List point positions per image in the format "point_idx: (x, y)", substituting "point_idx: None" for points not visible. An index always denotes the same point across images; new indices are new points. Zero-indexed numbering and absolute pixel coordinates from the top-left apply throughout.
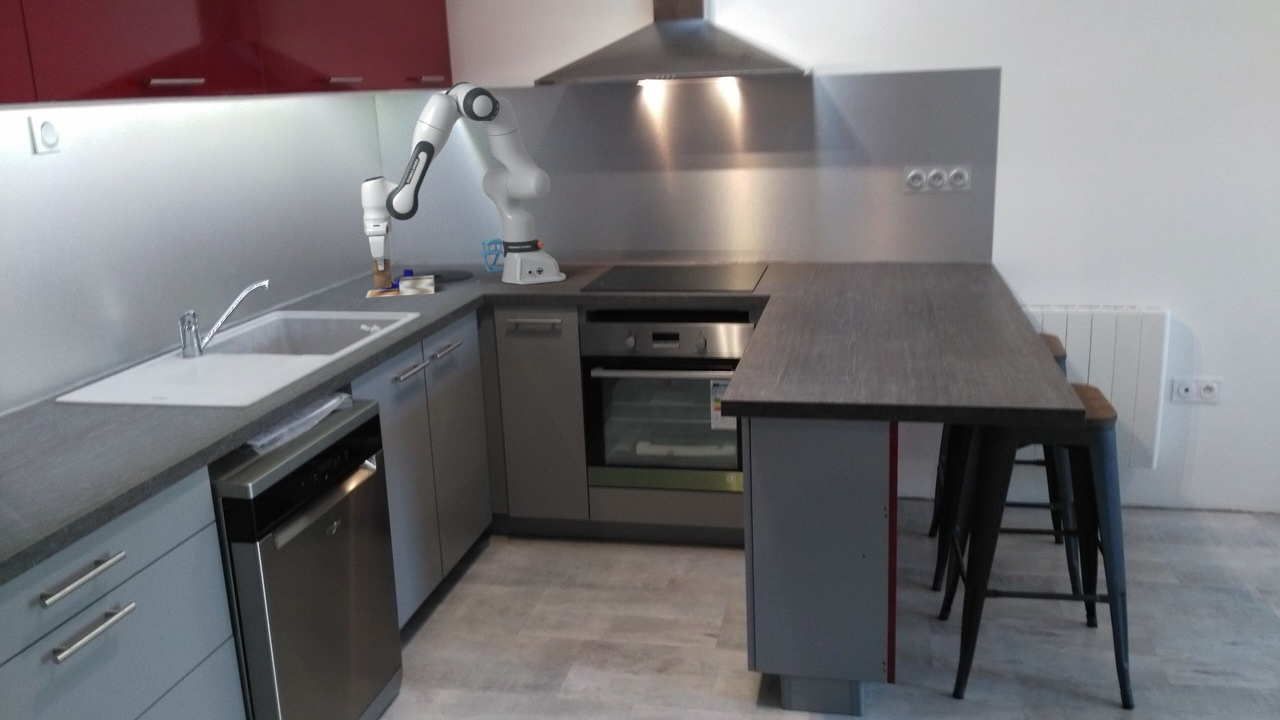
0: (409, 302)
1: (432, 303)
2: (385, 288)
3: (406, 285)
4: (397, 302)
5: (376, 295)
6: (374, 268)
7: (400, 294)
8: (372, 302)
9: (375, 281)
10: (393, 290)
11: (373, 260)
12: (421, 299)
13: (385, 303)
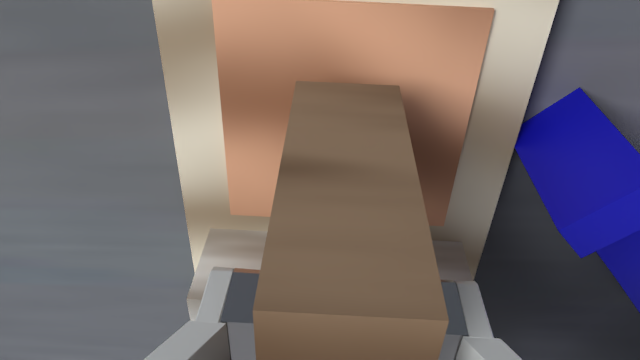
0: (41, 255)
1: (6, 343)
2: (537, 136)
3: None
4: (45, 194)
5: (219, 64)
6: (272, 228)
7: (210, 231)
8: (57, 18)
9: (288, 123)
10: None
11: (352, 320)
12: (132, 308)
13: (9, 120)
